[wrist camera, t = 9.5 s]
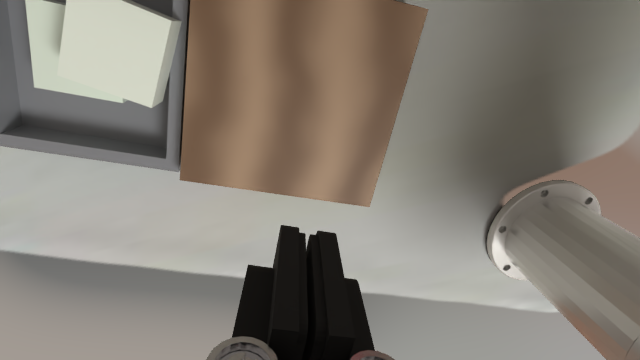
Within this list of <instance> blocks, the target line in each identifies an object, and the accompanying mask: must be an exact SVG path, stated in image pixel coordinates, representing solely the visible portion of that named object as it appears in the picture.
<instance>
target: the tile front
mask: <svg viewBox="0 0 640 360" xmlns="http://www.w3.org/2000/svg"><path fill="white" fill-rule="evenodd" d="M181 23H182V21H179V20H177V19H174V18H172V17H170V16H167V15H165V14H162V13H160V12H157V11H155V10H153V9H150V8H148V7H145V6H143V5H140V4H138V3H136V2H133V1H131V0H66V7H65V15H64V23H63V31H62V40H61V48H60V56H59V64H58V72H57V75H58V76H60V77H63V78H66V79H69V80H72V81H75V82H78V83H81V84H84V85H86V86H89V87H92V88H95V89H98V90H101V91H104V92H107V93H110V94H112V95H115V96H118V97H121V98H124V99H127V100H130V101H133V102H136V103H138V104H141V105H144V106H147V107H150V108H153V107H154V106H156V105H157V104H159V103H161V102H162V101H163V98H164V94H165V90H166V86H167V81H168V77H169V73H170V69H171V65H172V60H173V56H174V52H175V48H176V44H177V39H178V35H179V31H180V27H181Z"/></svg>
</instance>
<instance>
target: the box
mask: <svg viewBox="0 0 640 360" xmlns="http://www.w3.org/2000/svg"><path fill="white" fill-rule="evenodd" d="M53 1H58V2H62V3H66V0H53ZM131 1H133V2H136V3H138V4H140V5H143V6H145V7H148V8H150V9H153V10H155V11H157V12H160V13H162V14H165V15H167V16H170V17H172V18H174V19H177V20H179V21H182V23H181V27H180V31H179V35H178V39H177V44H176V48H175V52H174V56H173V60H172V65H171V69H170V73H169V77H168V81H167V86H166V90H165V94H164V98H163V101H162V102H161V103H159V104H157V105H156V106H154V107H153V108H150V107H147V106H144V105H141V104H138V103H136V102H133V101H130V100H128V101H126V102H124V103H119V102H114V101H108V100H103V99H97V98H91V97H86V96H80V95H74V94H69V93H63V92H58V91H52V90H46V89H41V88H35V87H34V81H33V71H32V61H31V52H30V42H29V32H28V22H27V13H26V3H25V0H0V146H4V147H11V148H18V149H25V150H32V151H38V152H45V153H52V154H59V155H66V156H73V157H79V158H86V159H93V160H100V161H107V162H114V163H121V164H127V165H134V166H141V167H148V168H155V169H162V170H168V171H175V172H179V170H180V169H181V152H182V135H183V118H184V101H185V84H186V67H187V50H188V33H189V16H190V0H131Z"/></svg>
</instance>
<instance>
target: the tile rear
mask: <svg viewBox="0 0 640 360" xmlns="http://www.w3.org/2000/svg"><path fill="white" fill-rule="evenodd" d="M25 3H26V13H27V22H28V32H29V42H30V52H31V61H32V71H33V81H34V87H35V88H41V89H46V90H52V91H58V92H63V93H69V94H74V95H80V96H86V97H91V98H97V99H103V100H108V101H114V102H119V103H124V102H126V101H128V100H127V99H124V98H121V97H118V96H115V95H112V94H110V93H107V92H104V91H101V90H98V89H95V88H92V87H89V86H86V85H84V84H81V83H78V82H75V81H72V80H69V79H66V78H63V77H60V76H58V75H57V72H58V64H59V56H60V48H61V40H62V31H63V23H64V15H65V7H66V3H62V2H58V1H53V0H25Z"/></svg>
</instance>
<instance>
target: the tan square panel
mask: <svg viewBox="0 0 640 360" xmlns="http://www.w3.org/2000/svg"><path fill="white" fill-rule="evenodd" d="M427 12H428V9H425V8H421V7H418V6H414V5H410V4H406V3H402V2H398V1H394V0H190V16H189V33H188V50H187V67H186V84H185V101H184V118H183V135H182V152H181V169H180V180H183V181H190V182H197V183H204V184H211V185H218V186H225V187H232V188H239V189H246V190H253V191H260V192H267V193H274V194H281V195H288V196H295V197H302V198H310V199H317V200H324V201H331V202H338V203H345V204H352V205H359V206H366V207H370V203H371V200H372V197H373V193H374V190H375V187H376V183H377V180H378V177H379V173H380V170H381V167H382V163H383V160H384V156H385V153H386V150H387V146H388V143H389V140H390V136H391V133H392V130H393V126H394V123H395V120H396V116H397V113H398V110H399V106H400V103H401V99H402V96H403V93H404V89H405V86H406V83H407V79H408V76H409V73H410V69H411V66H412V63H413V59H414V56H415V52H416V49H417V46H418V42H419V39H420V36H421V32H422V29H423V26H424V22H425V19H426V16H427Z"/></svg>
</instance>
